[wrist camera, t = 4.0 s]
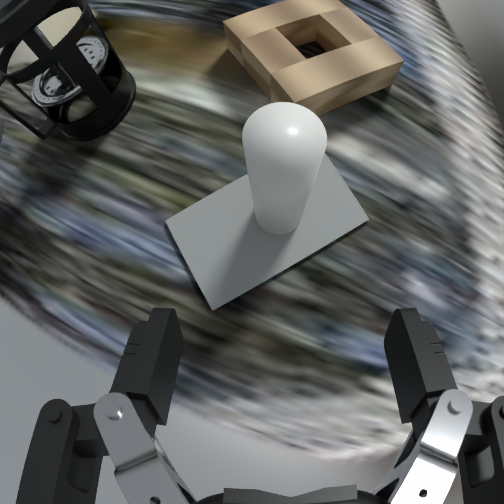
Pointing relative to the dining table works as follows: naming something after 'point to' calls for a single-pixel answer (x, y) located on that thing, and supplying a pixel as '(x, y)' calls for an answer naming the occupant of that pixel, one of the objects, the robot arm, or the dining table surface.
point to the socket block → (316, 68)
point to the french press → (64, 69)
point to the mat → (258, 234)
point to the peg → (282, 162)
